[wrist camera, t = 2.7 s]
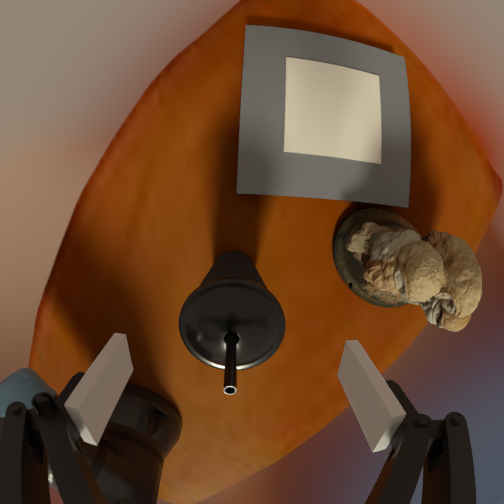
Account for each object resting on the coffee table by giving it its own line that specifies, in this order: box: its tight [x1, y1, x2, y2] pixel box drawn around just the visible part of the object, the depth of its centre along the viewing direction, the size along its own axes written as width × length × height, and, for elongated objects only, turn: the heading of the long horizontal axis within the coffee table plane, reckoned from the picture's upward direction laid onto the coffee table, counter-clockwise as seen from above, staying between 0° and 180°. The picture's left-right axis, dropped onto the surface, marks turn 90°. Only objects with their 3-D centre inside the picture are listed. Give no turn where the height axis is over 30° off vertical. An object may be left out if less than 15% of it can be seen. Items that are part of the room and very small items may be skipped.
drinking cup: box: [179, 251, 286, 395], centre depth 22 cm, size 8×8×20 cm
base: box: [237, 25, 411, 208], centre depth 26 cm, size 20×20×3 cm
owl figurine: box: [332, 207, 482, 332], centre depth 24 cm, size 18×12×17 cm, turn 62°
